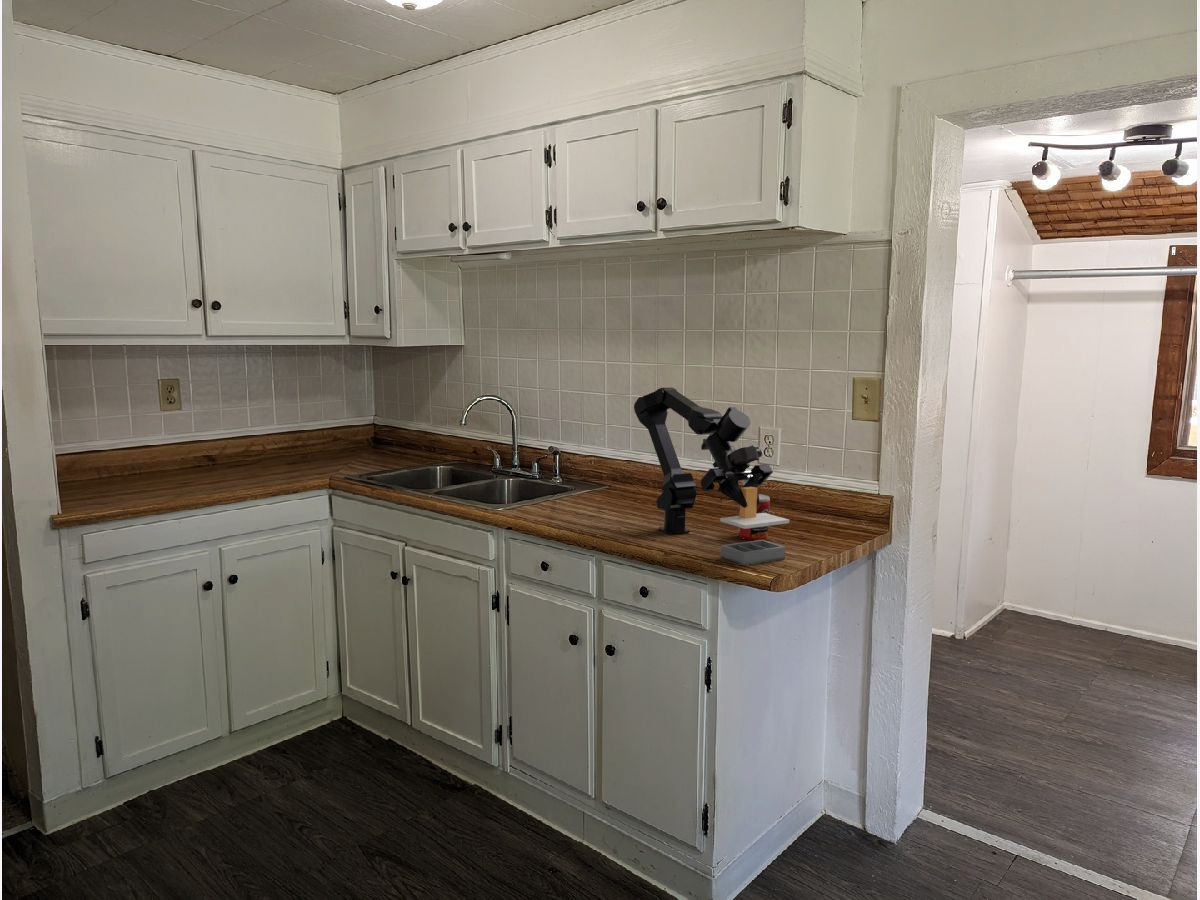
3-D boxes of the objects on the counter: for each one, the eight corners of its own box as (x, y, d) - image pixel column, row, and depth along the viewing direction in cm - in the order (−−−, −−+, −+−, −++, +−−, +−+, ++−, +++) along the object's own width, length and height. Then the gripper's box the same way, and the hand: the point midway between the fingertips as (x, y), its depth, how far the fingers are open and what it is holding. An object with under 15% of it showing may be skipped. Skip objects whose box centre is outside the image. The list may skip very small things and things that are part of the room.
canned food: (753, 542, 219) (755, 500, 218) (731, 536, 226) (733, 495, 224) (774, 538, 224) (776, 497, 222) (752, 532, 230) (754, 492, 229)
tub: (720, 557, 203) (721, 545, 203) (761, 551, 210) (762, 539, 210) (743, 565, 197) (744, 553, 196) (784, 559, 204) (785, 546, 203)
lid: (720, 521, 202) (721, 488, 201) (763, 515, 209) (765, 484, 208) (744, 528, 195) (746, 495, 194) (789, 522, 202) (790, 490, 201)
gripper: (710, 434, 200) (739, 489, 192) (769, 431, 210) (799, 483, 202) (688, 463, 208) (715, 516, 200) (746, 459, 217) (774, 509, 210)
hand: (752, 506), depth 203 cm, fingers closed on lid, 3 cm apart
